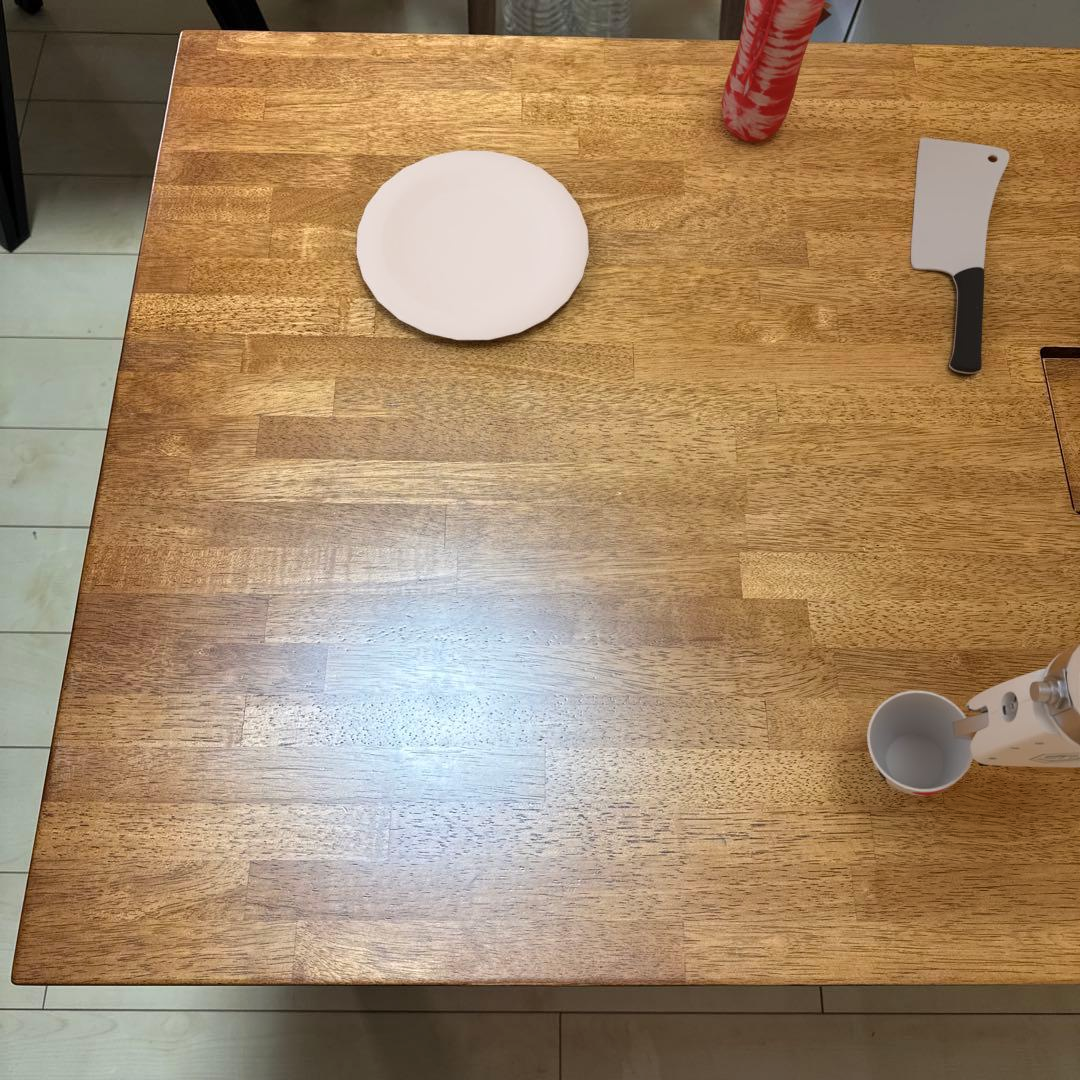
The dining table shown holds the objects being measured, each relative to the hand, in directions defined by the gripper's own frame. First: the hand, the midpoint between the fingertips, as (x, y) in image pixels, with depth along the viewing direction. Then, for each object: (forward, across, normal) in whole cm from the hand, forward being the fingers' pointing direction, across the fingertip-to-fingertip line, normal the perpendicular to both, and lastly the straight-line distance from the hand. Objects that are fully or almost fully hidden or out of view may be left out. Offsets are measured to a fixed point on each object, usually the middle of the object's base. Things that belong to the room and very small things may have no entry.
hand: (985, 747), depth 84 cm
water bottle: (+8, -13, +75) cm, 76 cm away
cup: (+8, -3, 0) cm, 8 cm away
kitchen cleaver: (+8, +8, +56) cm, 57 cm away
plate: (+8, -45, +54) cm, 71 cm away
